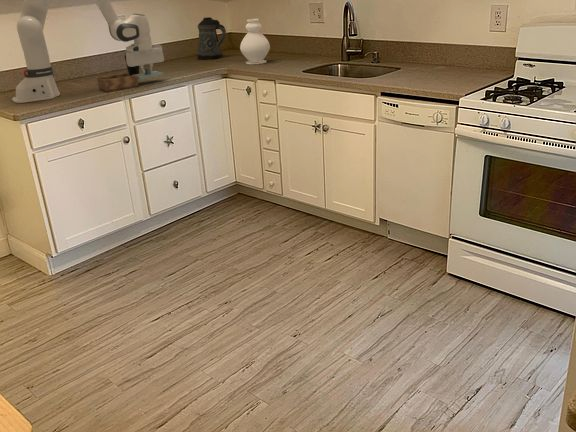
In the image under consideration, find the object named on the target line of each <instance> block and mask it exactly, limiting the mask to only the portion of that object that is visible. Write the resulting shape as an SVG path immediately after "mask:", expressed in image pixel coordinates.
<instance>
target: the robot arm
mask: <svg viewBox="0 0 576 432" xmlns="http://www.w3.org/2000/svg"><path fill="white" fill-rule="evenodd" d="M50 1H51V0H23V1H22V7H21V11H20V16H19V19H18V21H17V23H16V31H17V35H18V38H19V42H20V45H21V48H22V51H23V52H22V53H23V55H24V59H25V64H26V65H25V66H26V69H25V70H24V69H21V70H20V73H21V75H24V78H23V79H22V80H21V81H20V82H19V84H17V85H16V86H15V96H13V97H12V98H11V99H12V102H13V103H17V104H23V103H31V102H39V101H45V100H52V99H54V98H56V97H59V96H60V95H61V93H60V91H59V89H58V86H57V84H56V80H55V73H54V69H53V66H52V65H51V59H50V55H49V50H48V47H47V43H46V38H45V35H44V27H45V23H46V18H47V14H48V10H49V5H50V3H51V2H50ZM92 1H93V2H94V3H95V5H96V6H97V7H98V9H99V10H100V12H101V14H102V16H103V18H104V19H105V21H106V22H107V25H108V26H107V27H108V31H109V34H110V36H111V38H113V40H115V41H119V42H123V43H128V42H132V41H133V43H132V44H130V45H128V46H126V47H125V51H127V52H126V54H125V55H126V61H125V63H126V62H127V65H128V66H129V67H133V66H139V69H141V70H142V73H144V74H145V73H147V72H146V70H145V69H144V68H145V65H146V66H147V65H148V66H149V67H148V68H150V70H151V72H153V67H154V64H157V63H163V62H164V60H165V57H164V53H163V47H162V44H159V43H157V44H152V42H153V41H152V38H151V33H150V32H151V29H150V28H151V27H150V24H149V20H148V17H147V16H146V15H145V14H142V13H141V14H140V13H132V14H131V15H130V16H129V17H128V18H126V19H125V20H122V19H121V18H120V17H119V16H118V14H117V12H116V10H115V9H114V7H113V5H112V3H111V0H92ZM127 65H126V66H127Z"/></svg>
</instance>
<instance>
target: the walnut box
mask: <svg viewBox="0 0 576 432" xmlns="http://www.w3.org/2000/svg"><path fill="white" fill-rule="evenodd" d="M138 80H139V79H137V75H133V76H129V73H128V72H124V73H119V74H114V75H107V76H106V75H105V76H100V77H97V78H96V81H97V85H98V90H99V91H102V92H104V93H105V92H106V93H112V92H116V91H123V90H129V89H133V88H135V89H136V88H139V81H138Z"/></svg>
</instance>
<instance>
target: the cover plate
mask: <svg viewBox="0 0 576 432" xmlns="http://www.w3.org/2000/svg"><path fill="white" fill-rule="evenodd" d="M143 68H144V69H145V70H146V72H147V73H145V74H144V73H143V72H141V73H139V74H136V75H137V80H142V79H148V78H149V79H150V78H154V77H160V76H164V72H162V71H157V70H154V71H153V70H152V72H151V70H150V68H149V67H143ZM132 76H133V75H132Z"/></svg>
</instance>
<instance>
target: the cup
mask: <svg viewBox="0 0 576 432" xmlns="http://www.w3.org/2000/svg"><path fill="white" fill-rule="evenodd" d="M124 60H125V64H126V69H127V73H129V76H132V75H136V74H140V66H133V67H129V66H128V65H127V62H126V54H125V55H124Z"/></svg>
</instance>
